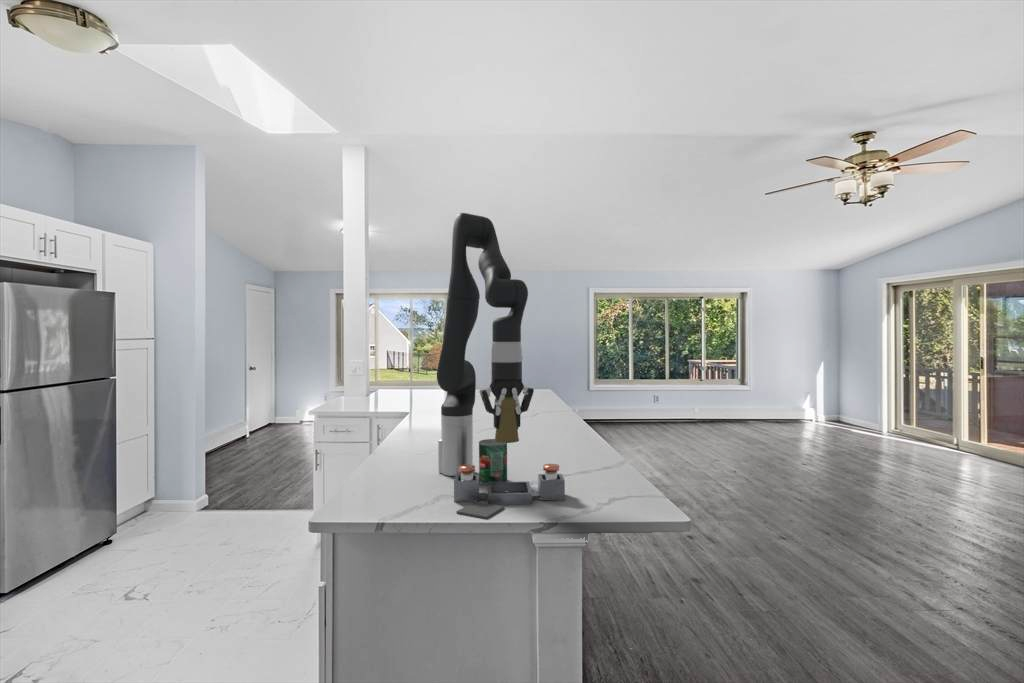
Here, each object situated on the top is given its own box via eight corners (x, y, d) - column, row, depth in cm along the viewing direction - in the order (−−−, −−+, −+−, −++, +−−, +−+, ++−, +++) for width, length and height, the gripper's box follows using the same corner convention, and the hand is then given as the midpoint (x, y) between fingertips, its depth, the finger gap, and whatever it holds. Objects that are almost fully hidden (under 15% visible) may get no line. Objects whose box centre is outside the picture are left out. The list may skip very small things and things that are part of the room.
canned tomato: (513, 481, 149) (513, 441, 149) (493, 487, 143) (493, 446, 143) (493, 475, 154) (493, 437, 154) (472, 481, 148) (472, 441, 148)
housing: (453, 504, 128) (453, 484, 128) (456, 491, 139) (456, 472, 139) (565, 503, 129) (565, 482, 129) (560, 490, 140) (560, 471, 139)
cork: (523, 441, 131) (523, 396, 131) (501, 443, 128) (500, 398, 128) (512, 437, 137) (512, 394, 136) (490, 439, 134) (490, 395, 134)
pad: (456, 513, 122) (456, 511, 122) (475, 503, 129) (475, 501, 129) (486, 519, 118) (486, 516, 118) (504, 508, 125) (504, 506, 125)
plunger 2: (540, 494, 133) (540, 466, 133) (547, 490, 137) (547, 463, 137) (555, 496, 131) (555, 468, 131) (561, 492, 135) (561, 464, 135)
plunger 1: (455, 495, 133) (455, 467, 132) (464, 491, 136) (464, 463, 136) (469, 497, 131) (469, 469, 131) (478, 493, 134) (478, 465, 134)
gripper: (528, 359, 138) (529, 425, 138) (475, 360, 134) (475, 428, 134) (539, 360, 131) (539, 430, 131) (482, 361, 126) (482, 434, 127)
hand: (506, 429), depth 132 cm, fingers closed on cork, 3 cm apart
